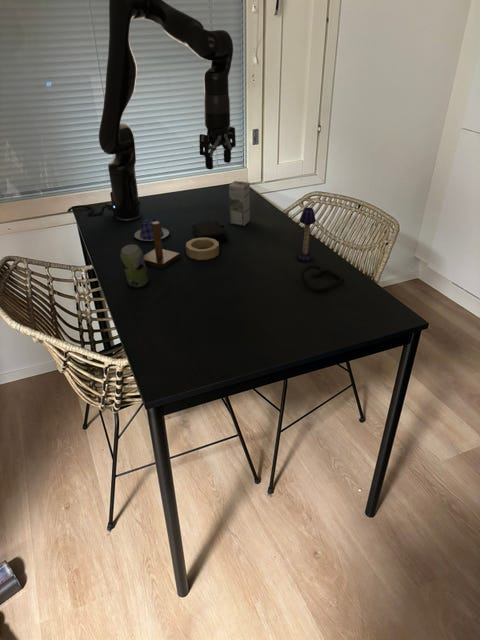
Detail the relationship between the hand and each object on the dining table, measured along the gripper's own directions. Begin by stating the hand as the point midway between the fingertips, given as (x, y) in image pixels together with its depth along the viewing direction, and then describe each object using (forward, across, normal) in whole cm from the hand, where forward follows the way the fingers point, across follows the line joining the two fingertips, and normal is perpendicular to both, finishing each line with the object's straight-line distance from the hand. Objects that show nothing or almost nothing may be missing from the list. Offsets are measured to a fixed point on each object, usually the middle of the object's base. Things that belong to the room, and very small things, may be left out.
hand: (218, 165), depth 153 cm
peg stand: (+26, +22, -7) cm, 34 cm away
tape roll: (+26, +10, +1) cm, 27 cm away
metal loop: (+26, +5, +41) cm, 49 cm away
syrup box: (+26, -18, -6) cm, 32 cm away
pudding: (+26, +10, -23) cm, 36 cm away
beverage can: (+26, +37, 0) cm, 45 cm away
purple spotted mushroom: (+26, -6, +30) cm, 40 cm away
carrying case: (+26, -2, -6) cm, 27 cm away
